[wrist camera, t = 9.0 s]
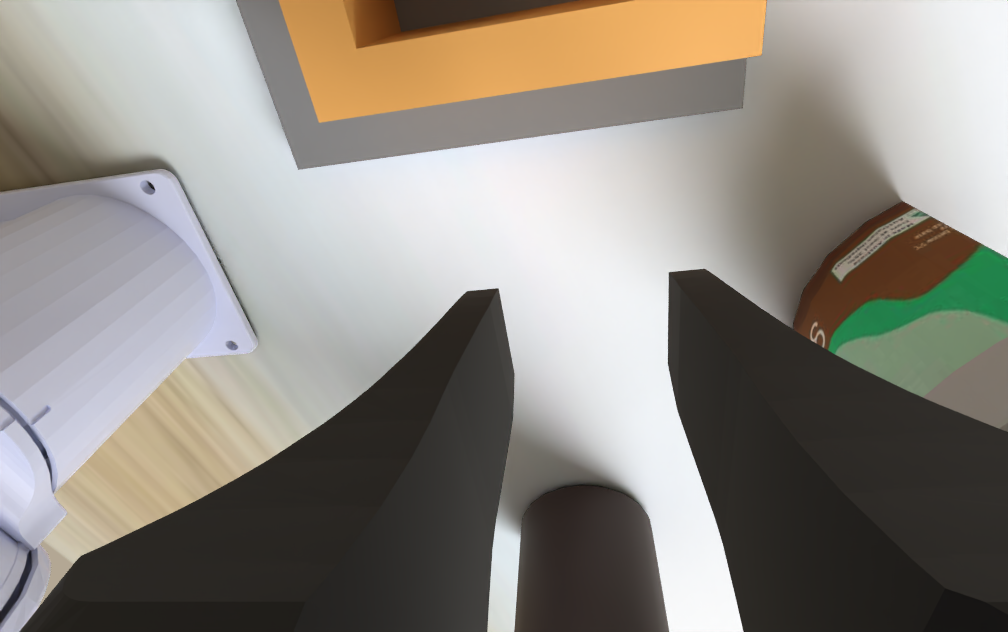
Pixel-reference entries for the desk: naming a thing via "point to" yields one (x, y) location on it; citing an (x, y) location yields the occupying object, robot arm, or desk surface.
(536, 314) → the desk surface
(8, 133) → the desk surface
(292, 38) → the link
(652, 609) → the vinegar
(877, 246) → the food container
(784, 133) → the desk surface
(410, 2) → the plate
